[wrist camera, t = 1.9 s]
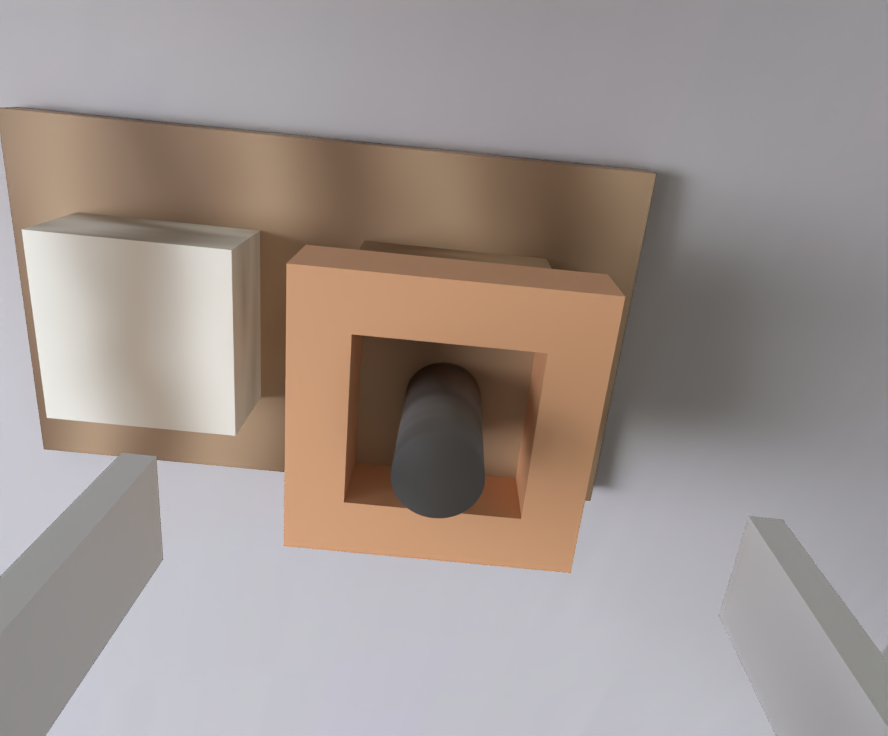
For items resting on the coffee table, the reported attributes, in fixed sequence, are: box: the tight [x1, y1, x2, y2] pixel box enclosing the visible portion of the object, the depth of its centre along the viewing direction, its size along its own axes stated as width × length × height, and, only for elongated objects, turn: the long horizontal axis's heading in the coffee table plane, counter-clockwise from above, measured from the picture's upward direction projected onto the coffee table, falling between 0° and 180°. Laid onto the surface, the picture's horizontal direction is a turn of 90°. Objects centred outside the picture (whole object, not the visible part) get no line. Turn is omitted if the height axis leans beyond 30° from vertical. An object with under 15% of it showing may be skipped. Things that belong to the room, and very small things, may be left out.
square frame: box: [284, 245, 625, 573], centre depth 21 cm, size 9×9×2 cm
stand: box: [0, 107, 656, 518], centre depth 23 cm, size 24×14×12 cm, turn 85°
